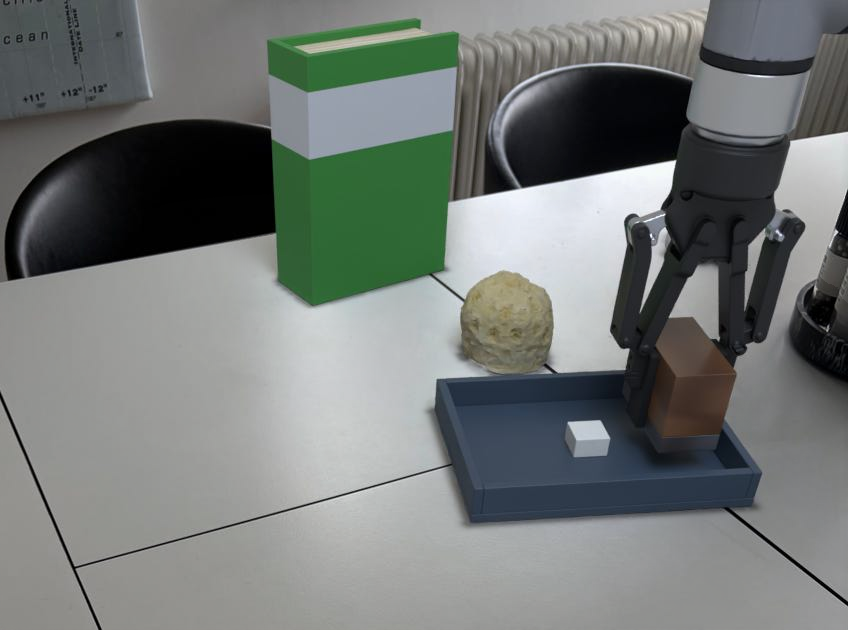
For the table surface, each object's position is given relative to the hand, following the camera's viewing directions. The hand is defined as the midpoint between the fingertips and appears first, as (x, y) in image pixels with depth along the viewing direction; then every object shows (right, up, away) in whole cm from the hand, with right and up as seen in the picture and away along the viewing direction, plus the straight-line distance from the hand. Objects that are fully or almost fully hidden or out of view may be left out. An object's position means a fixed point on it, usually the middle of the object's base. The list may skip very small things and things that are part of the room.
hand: (667, 417), depth 89 cm
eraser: (0, 0, 0) cm, 0 cm away
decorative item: (-12, +9, +15) cm, 22 cm away
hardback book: (-26, +22, +29) cm, 45 cm away
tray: (-7, -3, +2) cm, 8 cm away
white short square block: (-7, -2, +1) cm, 7 cm away
